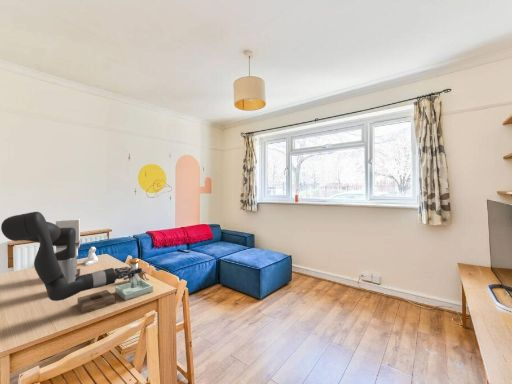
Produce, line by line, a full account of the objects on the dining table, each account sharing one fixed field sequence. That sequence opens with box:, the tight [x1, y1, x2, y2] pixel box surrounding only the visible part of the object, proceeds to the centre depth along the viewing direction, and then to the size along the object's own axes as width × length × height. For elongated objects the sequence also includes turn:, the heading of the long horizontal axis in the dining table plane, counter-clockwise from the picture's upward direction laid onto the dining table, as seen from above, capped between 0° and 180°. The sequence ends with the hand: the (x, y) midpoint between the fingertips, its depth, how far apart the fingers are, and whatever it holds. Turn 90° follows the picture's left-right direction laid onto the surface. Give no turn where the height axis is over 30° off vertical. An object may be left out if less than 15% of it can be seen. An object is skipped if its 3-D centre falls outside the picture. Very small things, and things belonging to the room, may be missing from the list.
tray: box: [114, 278, 154, 301], centre depth 123 cm, size 14×14×3 cm
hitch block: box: [77, 289, 116, 314], centre depth 111 cm, size 12×12×3 cm
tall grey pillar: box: [55, 217, 81, 279], centre depth 144 cm, size 11×11×35 cm
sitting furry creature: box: [82, 246, 99, 267], centre depth 169 cm, size 10×9×12 cm
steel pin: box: [129, 257, 140, 288], centre depth 123 cm, size 5×5×14 cm
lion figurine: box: [122, 265, 150, 283], centre depth 137 cm, size 15×5×9 cm, turn 99°
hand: (139, 269), depth 125 cm, fingers closed on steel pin, 3 cm apart
